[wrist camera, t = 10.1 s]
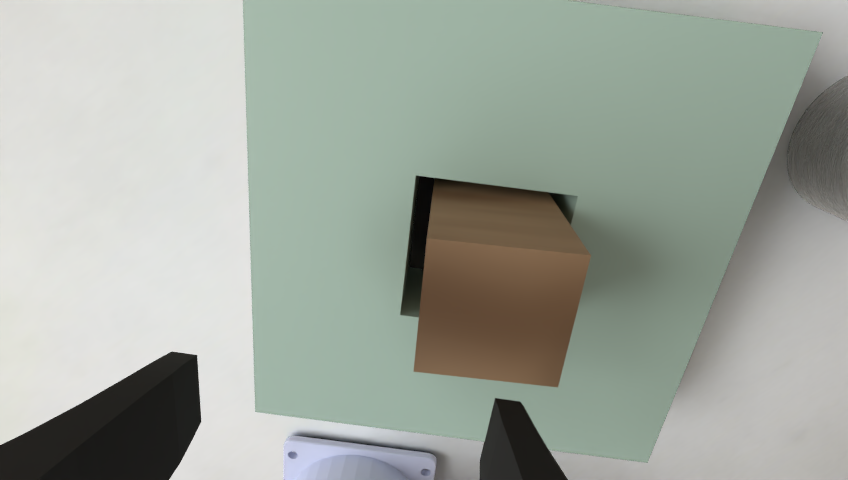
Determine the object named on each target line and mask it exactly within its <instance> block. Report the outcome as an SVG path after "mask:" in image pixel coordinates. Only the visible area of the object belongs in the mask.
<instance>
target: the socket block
mask: <svg viewBox="0 0 848 480" xmlns="http://www.w3.org/2000/svg"><path fill="white" fill-rule="evenodd" d="M243 19H244V52H245V85H246V118H247V151H248V184H249V217H250V250H251V283H252V316H253V349H254V382H255V412H260V413H268V414H275V415H283V416H291V417H298V418H306V419H314V420H322V421H329V422H337V423H345V424H352V425H360V426H368V427H375V428H383V429H391V430H399V431H406V432H414V433H422V434H429V435H437V436H445V437H452V438H460V439H468V440H476V441H483V442H485V438H486V434H487V429H488V425H489V421H490V417H491V413H492V409H493V405H494V400H495V398H499V399H506V400H513V401H520V402H521V403H522V404H523V406H524V407H525V409H526V411H527V413H528V415H529V417H530V418H531V420H532V422H533V424H534V425H535V427H536V429H537V431H538V432H539V434H540V436H541V438H542V439H543V441H544V443H545V444H546V446H547V448H548V449H549V450H553V451H560V452H568V453H576V454H583V455H591V456H599V457H606V458H614V459H622V460H630V461H637V462H645V463H648V460H649V458H650V455H651V453H652V450H653V448H654V446H655V443H656V441H657V438H658V436H659V433H660V431H661V428H662V426H663V423H664V421H665V419H666V416H667V414H668V411H669V409H670V406H671V404H672V401H673V399H674V397H675V394H676V392H677V389H678V387H679V384H680V382H681V379H682V377H683V374H684V372H685V370H686V367H687V365H688V362H689V360H690V357H691V355H692V352H693V350H694V347H695V345H696V343H697V340H698V338H699V335H700V333H701V330H702V328H703V325H704V323H705V321H706V318H707V316H708V313H709V311H710V308H711V306H712V303H713V301H714V298H715V296H716V294H717V291H718V289H719V286H720V284H721V281H722V279H723V276H724V274H725V271H726V269H727V267H728V264H729V262H730V259H731V257H732V254H733V252H734V249H735V247H736V245H737V242H738V240H739V237H740V235H741V232H742V230H743V227H744V225H745V222H746V220H747V218H748V215H749V213H750V210H751V208H752V205H753V203H754V200H755V198H756V196H757V193H758V191H759V188H760V186H761V183H762V181H763V178H764V176H765V173H766V171H767V169H768V166H769V164H770V161H771V159H772V156H773V154H774V151H775V149H776V146H777V144H778V142H779V139H780V137H781V134H782V132H783V129H784V127H785V124H786V122H787V120H788V117H789V115H790V112H791V110H792V107H793V105H794V102H795V100H796V97H797V95H798V93H799V90H800V88H801V85H802V83H803V80H804V78H805V75H806V73H807V70H808V68H809V66H810V63H811V61H812V58H813V56H814V53H815V51H816V48H817V46H818V44H819V41H820V39H821V36H822V34H823V32H817V31H809V30H801V29H793V28H785V27H777V26H769V25H761V24H753V23H745V22H737V21H729V20H721V19H713V18H705V17H697V16H689V15H681V14H673V13H665V12H657V11H649V10H641V9H633V8H625V7H617V6H609V5H601V4H593V3H585V2H577V1H569V0H243ZM420 176H424V177H432V178H440V179H448V180H456V181H464V182H472V183H479V184H487V185H495V186H503V187H511V188H519V189H527V190H534V191H542V192H548V193H549V194H550V196H551V197H552V198H553V200H554V201H555V203H556V204H557V206H558V207H559V209H560V210H561V212H562V213H563V215H564V216H565V218H566V219H567V221H568V222H569V224H570V225H571V227H572V228H573V230H574V231H575V233H576V234H577V235H578V237H579V238H580V240H581V241H582V243H583V244H584V246H585V247H586V249H587V250H588V252H589V253H590V255H591V258H590V262H589V266H588V270H587V274H586V278H585V282H584V286H583V290H582V294H581V298H580V302H579V306H578V310H577V314H576V318H575V322H574V326H573V330H572V334H571V338H570V342H569V346H568V350H567V354H566V358H565V362H564V366H563V370H562V374H561V378H560V382H559V386H558V387H549V386H540V385H531V384H522V383H512V382H503V381H494V380H485V379H476V378H467V377H457V376H448V375H439V374H430V373H421V372H413V371H414V361H415V351H416V341H417V331H418V321H419V311H420V301H421V291H422V281H423V271H424V269H420V268H412V267H409V265H410V256H411V247H412V239H413V230H414V221H415V213H416V204H417V195H418V187H419V178H420Z"/></svg>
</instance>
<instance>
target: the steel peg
mask: <svg viewBox="0 0 848 480" xmlns="http://www.w3.org/2000/svg"><path fill="white" fill-rule="evenodd" d="M787 168H788V174H789V178H790V181H791V183H792V185H793V187H794V189H795V190H796V192H797V193H798V194H799V195H800V196H801V197H802V198H803V199H804V200H805V201H806V202H808V203H809V204H811V205H813V206H815V207H817V208H819V209H821V210H823V211H826V212H828V213H830V214H833V215H835V216H837V217H840V218H842V219H844V220H846V221H848V76H846V77H844V78H843V79H841V80H839V81H838V82H836V83H835V84H833V85H832V86H830V87H829V88H828V89H827V90H826V91H824V92H823V93H822V94H821V95H820V96H819V97H818V98H817V99H816V100H815V101H814V102H813V103H812V104H811V105H810V106H809V108H808V109H807V110H806V112H805V113H804V114H803V116H802V117H801V119H800V121H799V122H798V124H797V126H796V128H795V130H794V132H793V135H792V138H791V141H790V144H789V149H788V155H787Z"/></svg>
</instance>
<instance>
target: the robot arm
mask: <svg viewBox="0 0 848 480" xmlns="http://www.w3.org/2000/svg"><path fill="white" fill-rule="evenodd" d="M200 423H201V411H200V396H199V380H198V364H197V355H192V354H185V353H178V352H170V353H168V354H167V355H165V356H163V357H161V358H159V359H157V360H156V361H154V362H152V363H150V364H149V365H147V366H145V367H144V368H142V369H140V370H138V371H137V372H135V373H133V374H132V375H130V376H128V377H126V378H125V379H123V380H121V381H120V382H118V383H116V384H114V385H113V386H111V387H109V388H107V389H106V390H104V391H102V392H100V393H99V394H97V395H95V396H93V397H92V398H90V399H88V400H86V401H85V402H83V403H81V404H79V405H78V406H76V407H74V408H72V409H70V410H68V411H66V412H64V413H62V414H61V415H59V416H57V417H55V418H53V419H51V420H49V421H47V422H45V423H44V424H42V425H40V426H38V427H36V428H34V429H32V430H30V431H28V432H27V433H25V434H23V435H21V436H18V437H16V438H14V439H12V440H10V441H8V442H6V443H4V444H2V445H0V480H169V479H170V477H171V476H172V474H173V473H174V471H175V470H176V468H177V467H178V465H179V464H180V462H181V460H182V458H183V456H184V454H185V452H186V451H187V449H188V447H189V445H190V443H191V441H192V439H193V437H194V435H195V433H196V431H197V429H198V427H199V425H200ZM292 451H293V452H292ZM294 452H296V453H294ZM436 463H437V461H436V457H435V456H434V455H433V454H430V453H425V452H417V451H409V450H402V449H394V448H386V447H379V446H371V445H363V444H356V443H348V442H340V441H333V440H325V439H317V438H309V437H302V436H289V437H288V438H287V439H286V441H285V443H284V480H434V477H435V471H436ZM424 469H428V470H424ZM480 480H568V479H567V478H566V476H565V475H564V473H563V472H562V470H561V469H560V467H559V465H558V464H557V462H556V461H555V459H554V458H553V456H552V454H551V453H550V451H549V449H548V448H547V446H546V444H545V443H544V441H543V439H542V438H541V436H540V434H539V432H538V431H537V429H536V427H535V425H534V424H533V422H532V420H531V418H530V417H529V415H528V413H527V411H526V409H525V407H524V406H523V404H522V403H521V402H520V401H513V400H506V399H499V398H495V400H494V405H493V409H492V413H491V417H490V421H489V425H488V429H487V434H486V438H485V442H484V446H483V450H482V454H481V458H480Z"/></svg>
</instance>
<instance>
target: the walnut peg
mask: <svg viewBox="0 0 848 480" xmlns="http://www.w3.org/2000/svg"><path fill="white" fill-rule="evenodd" d="M590 258H591V255H590V253H589V252H588V250H587V249H586V247H585V246H584V244H583V243H582V241H581V240H580V238H579V237H578V235H577V234H576V233H575V231H574V230H573V228H572V227H571V225H570V224H569V222H568V221H567V219H566V218H565V216H564V215H563V213H562V212H561V210H560V209H559V207H558V206H557V204H556V203H555V201H554V200H553V198H552V197H551V196H550V194H549V193H548V192H542V191H534V190H527V189H519V188H511V187H503V186H495V185H487V184H479V183H472V182H464V181H456V180H448V179H440V178H435V179H434V187H433V194H432V202H431V210H430V217H429V225H428V233H427V241H426V251H425V261H424V271H423V281H422V291H421V301H420V311H419V321H418V331H417V341H416V351H415V361H414V371H413V372H421V373H430V374H439V375H448V376H457V377H467V378H476V379H485V380H494V381H503V382H512V383H522V384H531V385H540V386H549V387H558V386H559V382H560V378H561V374H562V370H563V366H564V362H565V358H566V354H567V350H568V346H569V342H570V338H571V334H572V330H573V326H574V322H575V318H576V314H577V310H578V306H579V302H580V298H581V294H582V290H583V286H584V282H585V278H586V274H587V270H588V266H589V262H590Z"/></svg>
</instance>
